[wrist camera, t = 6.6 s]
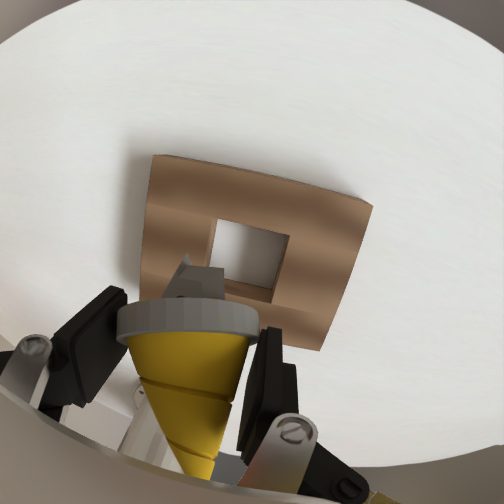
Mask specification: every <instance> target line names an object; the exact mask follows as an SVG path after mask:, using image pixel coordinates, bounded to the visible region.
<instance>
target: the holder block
mask: <svg viewBox="0 0 504 504" xmlns="http://www.w3.org/2000/svg"><path fill="white" fill-rule="evenodd" d="M372 208H373V205H371V204H369V203H368V202H366V201H364V200H361V199H358V198H355V197H351V196H348V195H345V194H341V193H338V192H334V191H331V190H327V189H323V188H320V187H316V186H312V185H309V184H305V183H301V182H297V181H293V180H289V179H285V178H281V177H277V176H273V175H268V174H264V173H260V172H255V171H251V170H246V169H241V168H237V167H232V166H227V165H222V164H217V163H211V162H206V161H201V160H195V159H189V158H183V157H177V156H171V155H153V161H152V167H151V173H150V180H149V187H148V195H147V203H146V211H145V220H144V230H143V242H142V255H141V271H140V294H139V301H144V300H150V299H161V297H162V295H163V293H164V291H165V290H166V288H167V286H168V284H169V282H170V281H171V279H172V277H173V275H174V273H175V272H176V270H177V268H178V267H179V265H180V263H181V262H182V260H183V259H184V257H185V255H186V254H187V253H188V256H189V258H190V260H191V263H192V265H194V266H204V267H209V264H210V258H211V253H212V247H213V242H214V236H215V231H216V225H217V220H218V219H222V220H227V221H231V222H235V223H240V224H244V225H248V226H252V227H257V228H261V229H265V230H269V231H273V232H277V233H282V234H286V235H287V237H286V241H285V245H284V249H283V252H282V256H281V260H280V263H279V267H278V271H277V274H276V278H275V281H274V285H273V289H272V290H270V289H266V288H262V287H258V286H253V285H249V284H245V283H241V282H237V281H233V280H228V279H224V285H225V301H232V302H236V303H240V304H244V305H247V306H249V307H252V308H253V309H255V310H256V311H257V313H258V316H259V326H260V333H261V329H267V327H268V326H270V327H275V328H280V329H282V344H283V345H288V346H293V347H298V348H303V349H309V350H314V351H320V349H321V347H322V345H323V342H324V340H325V338H326V335H327V333H328V331H329V328H330V326H331V324H332V321H333V319H334V316H335V314H336V312H337V309H338V307H339V304H340V302H341V299H342V296H343V294H344V291H345V289H346V286H347V283H348V281H349V278H350V275H351V272H352V270H353V267H354V264H355V261H356V258H357V255H358V252H359V250H360V247H361V244H362V241H363V237H364V234H365V231H366V228H367V225H368V222H369V218H370V215H371V212H372Z"/></svg>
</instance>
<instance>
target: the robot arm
mask: <svg viewBox="0 0 504 504" xmlns="http://www.w3.org/2000/svg"><path fill="white" fill-rule="evenodd" d="M125 305H127V294H126V293H124V290H123V289H122V288H118V287H115V286H112V285H110V286H109V287H108V288H106V289H105V290H104V291H103V292H102V293H100V294H99V295H98V296H97V297H96V298H94V299H93V300H92V301H91V302H90V303H89V304H87V305H86V306H85V307H84V308H83V309H82V310H80V311H79V312H78V313H77V314H76V315H75V316H74V317H72V318H71V319H70V320H69V321H68V322H67V323H66V324H65V325H63V326H62V327H61V328H60V329H59V330H58V331H57V332H56V333H55V334H54V336H53V337H52V338H51V339H49V338H47V337H46V336H43V335H39V334H33V335H29V336H26V337H24V338H23V339H22V340H21V341H20V342H19V343H18V345H17V347H16V349H15V350H14V351H3V352H0V504H400V503H399V502H397V501H395V500H393V499H391V498H389V497H387V496H386V495H384V494H382V493H380V492H379V491H377V492H375V493H374V492H372V491H370V489H369V485H368V483H367V481H366V480H365V479H364V478H363V477H362V476H361V475H360V474H358V473H357V472H356V471H354V470H353V469H351V468H350V467H349V466H347V465H346V464H345V463H343V462H342V461H341V460H339V459H338V458H337V457H335V456H334V455H333V454H332V453H330V452H329V451H328V450H326V449H325V448H324V447H323V446H321V445H320V444H319V443H318V442H316V441H317V438H318V431H317V427H316V426H315V424H314V423H313V422H312V421H311V420H310V419H309V418H307V417H305V416H303V415H300V414H299V409H298V391H297V374H296V365H295V364H289V363H283V353H282V329H280V328H275V327H270V326H268V327H267V329H261V333H260V339H259V341H258V343H257V347H256V351H255V354H254V358H253V361H252V365H251V368H250V372H249V375H248V379H247V383H246V389H245V396H244V403H243V409H242V416H241V422H240V429H239V435H238V442H237V448H236V451H241V452H242V453H241V459H242V460H244V461H243V462H244V463H245V464H246V465H247V466H248V468H247V469H246V471H245V473H244V475H243V476H242V478H241V479H240V481H239V482H238V484H237V486H233V485H228V484H223V483H218V482H213V481H209V480H205V479H200V478H196V477H192V476H188V475H185V474H184V472H183V470H182V468H181V467H180V465H179V463H178V461H177V459H176V457H175V456H174V454H173V452H172V450H171V448H170V446H169V444H168V442H167V440H166V438H165V435H164V434H163V432H162V430H161V428H160V426H159V423H158V421H157V419H156V417H155V415H154V412H153V410H152V408H151V406H150V403H149V401H148V399H147V396H146V394H145V391H144V389H143V386H142V384H141V385H140V386H139V387H138V388H137V390H136V391H135V393H134V402H135V405H136V407H137V409H138V410H137V412H136V414H135V416H134V418H133V420H132V422H131V424H130V426H129V427H128V429H127V432H126V434H125V436H124V438H123V440H122V442H121V444H120V446H119V448H118V450H117V451H115V450H113V449H110V448H108V447H106V446H104V445H101V444H99V443H97V442H95V441H93V440H91V439H89V438H87V437H85V436H83V435H81V434H79V433H77V432H75V431H73V430H71V429H69V428H67V427H66V426H64V425H65V421H66V417H67V413H68V408H69V405H71V404H72V403H73V404H75V405H77V406H79V407H81V408H83V407H84V406H85V405H86V403H90V402H92V400H93V399H94V397H95V396H96V394H97V393H98V392H99V390H100V389H101V387H102V386H103V384H104V383H105V381H106V380H107V379H108V377H109V376H110V374H111V373H112V371H113V370H114V369H115V367H116V366H117V364H118V363H119V362H120V360H121V359H122V357H123V356H124V355H125V353H126V352H127V349H128V346H126V345H123V344H121V343H119V342H118V341H117V340H116V332H117V312H118V310H119V309H120V308H121V307H123V306H125Z"/></svg>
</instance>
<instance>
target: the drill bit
mask: <svg viewBox="0 0 504 504" xmlns="http://www.w3.org/2000/svg"><path fill="white" fill-rule="evenodd" d="M259 339H260V326H259V316H258V313H257V311H256V310H255V309H253V308H252V307H249V306H247V305H244V304H240V303H236V302H232V301H225V285H224V268H215V267H204V266H194V265H192V263H191V260H190V258H189V256H188V253H187V254H186V255H185V257H184V259H183V260H182V262H181V263H180V265H179V267H178V268H177V270H176V272H175V273H174V275H173V277H172V279H171V281H170V282H169V284H168V286H167V288H166V290H165V291H164V293H163V295H162V297H161V299H150V300H144V301H138V302H134V303H131V304H127V305H125V306H123V307H121V308H120V309H119V310H118V312H117V332H116V340H117V341H118V342H119V343H121V344H123V345H126V346H128V348H129V351H130V354H131V357H132V360H133V363H134V365H135V368H136V371H137V373H138V375H139V376H141V377H140V378H139V379H140V381H141V384H142V386H143V389H144V391H145V394H146V396H147V399H148V401H149V403H150V406H151V408H152V410H153V412H154V415H155V417H156V419H157V421H158V423H159V426H160V428H161V430H162V432H163V434H164V435H165V438H166V440H167V442H168V444H169V446H170V448H171V450H172V452H173V454H174V456H175V457H176V459H177V461H178V463H179V465H180V467H181V468H182V470H183V472H184V474H185V475H188V476H192V477H196V478H200V479H205V480H210V477H211V474H212V470H213V467H214V464H215V462H214V461H212V460H213V459H214V458H216V457H217V454H218V451H219V448H220V444H221V441H222V438H223V435H224V431H225V428H226V425H227V421H228V418H229V415H230V411H231V408H232V404H231V402H232V401H233V400H234V398H235V394H236V391H237V387H238V384H239V380H240V377H241V373H242V370H243V366H244V363H245V359H246V356H247V352H248V348H249V346H251V345H254V344H256V343H258V341H259Z"/></svg>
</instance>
